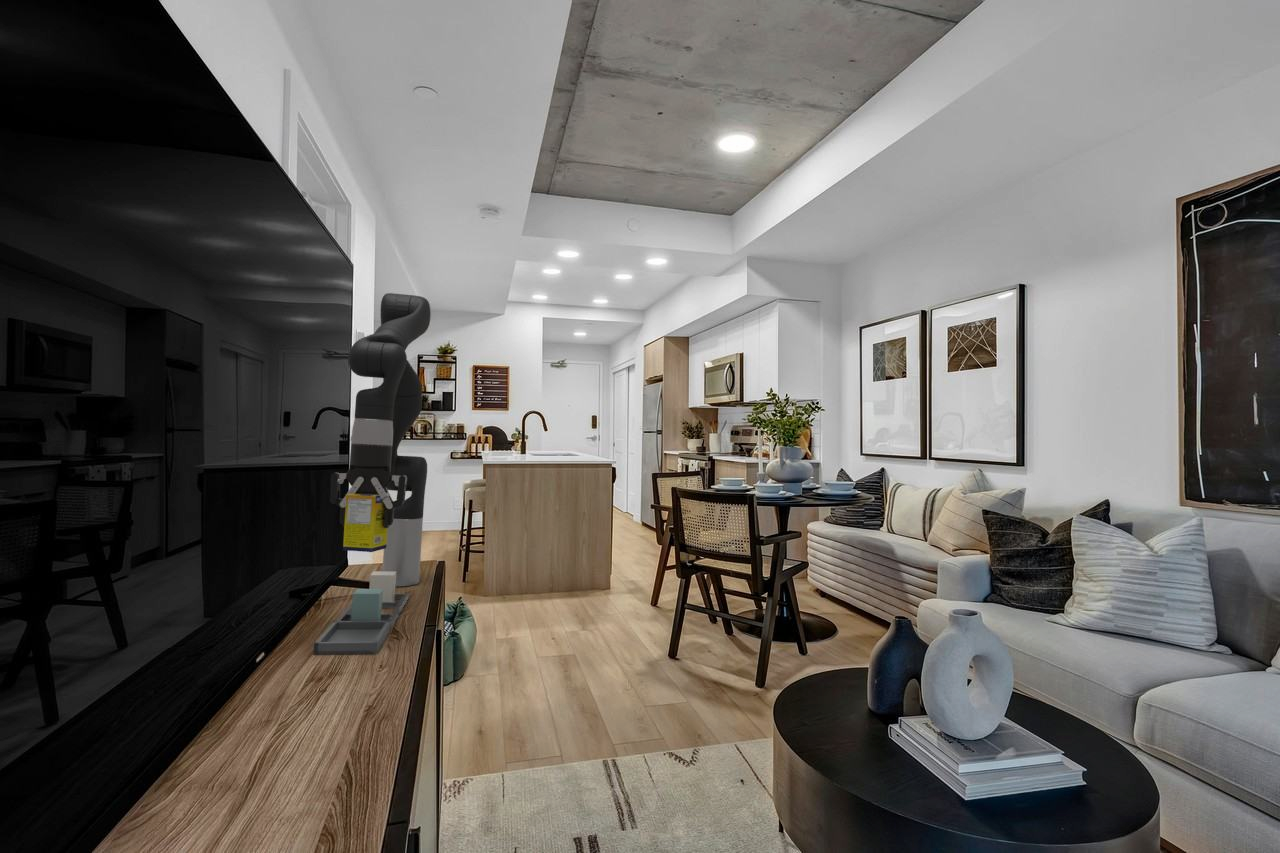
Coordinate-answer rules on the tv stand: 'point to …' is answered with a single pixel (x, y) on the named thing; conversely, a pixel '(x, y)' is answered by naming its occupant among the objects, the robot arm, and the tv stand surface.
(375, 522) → the supplement box
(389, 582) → the cream block
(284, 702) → the tv stand surface
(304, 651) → the tv stand surface
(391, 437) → the robot arm
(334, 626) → the tray
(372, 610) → the sage green square block
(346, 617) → the rails
